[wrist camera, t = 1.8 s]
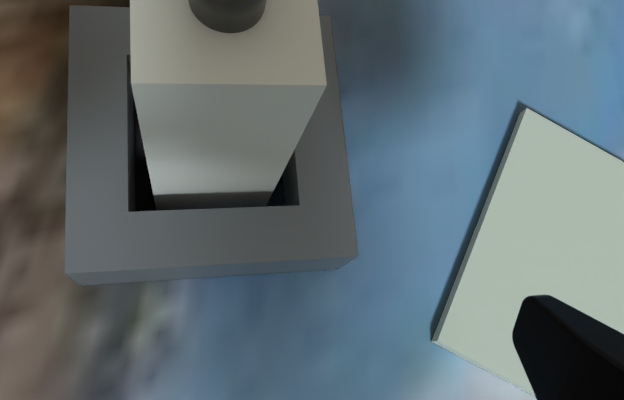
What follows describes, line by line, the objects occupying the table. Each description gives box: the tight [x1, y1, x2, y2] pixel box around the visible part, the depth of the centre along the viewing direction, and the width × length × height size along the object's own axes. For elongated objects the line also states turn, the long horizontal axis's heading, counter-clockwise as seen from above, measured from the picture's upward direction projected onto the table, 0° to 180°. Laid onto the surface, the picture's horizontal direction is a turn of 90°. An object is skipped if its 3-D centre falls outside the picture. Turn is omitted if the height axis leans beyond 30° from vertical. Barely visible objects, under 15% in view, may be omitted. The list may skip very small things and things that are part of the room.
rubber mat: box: [431, 108, 624, 396], centre depth 26 cm, size 12×12×1 cm
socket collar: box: [65, 5, 358, 286], centre depth 22 cm, size 10×10×3 cm
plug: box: [130, 0, 327, 211], centre depth 18 cm, size 4×4×12 cm
